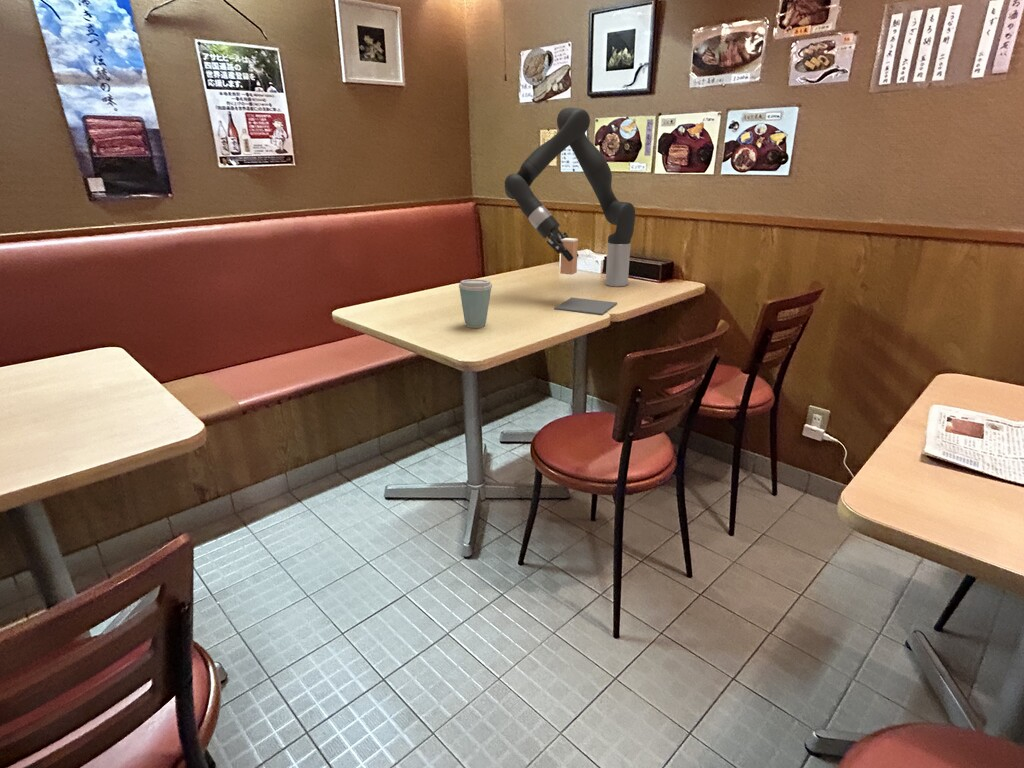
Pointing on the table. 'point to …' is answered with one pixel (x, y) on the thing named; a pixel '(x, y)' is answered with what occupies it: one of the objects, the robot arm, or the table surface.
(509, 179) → the robot arm
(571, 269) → the terracotta block
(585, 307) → the charcoal mat
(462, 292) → the disposable coffee cup
